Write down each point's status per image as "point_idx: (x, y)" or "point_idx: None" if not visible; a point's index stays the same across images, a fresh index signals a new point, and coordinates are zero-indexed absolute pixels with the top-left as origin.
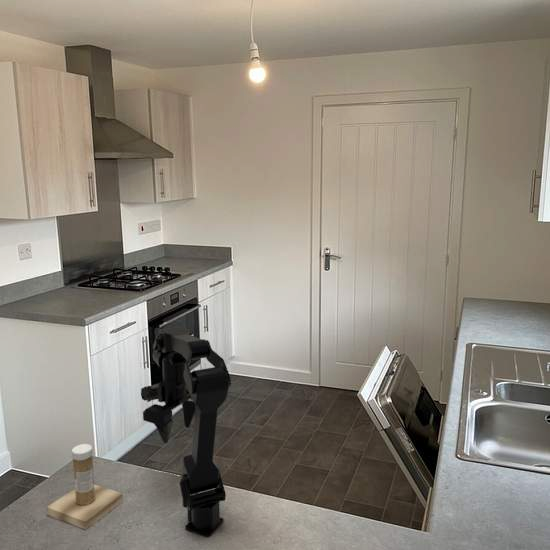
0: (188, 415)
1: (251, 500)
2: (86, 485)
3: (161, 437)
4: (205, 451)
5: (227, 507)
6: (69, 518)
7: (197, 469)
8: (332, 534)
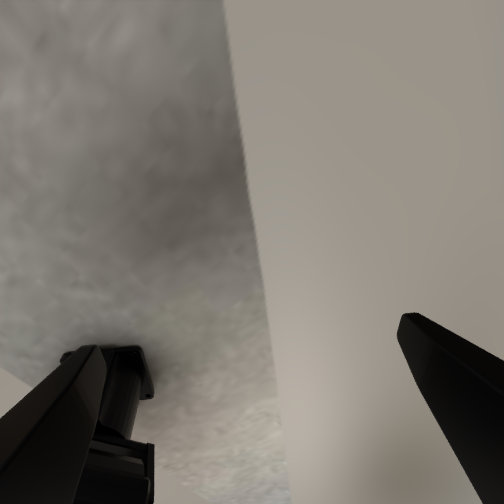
0: (485, 444)
1: (259, 391)
2: None
3: (39, 387)
4: None
5: (204, 371)
6: None
7: None
8: (239, 498)
